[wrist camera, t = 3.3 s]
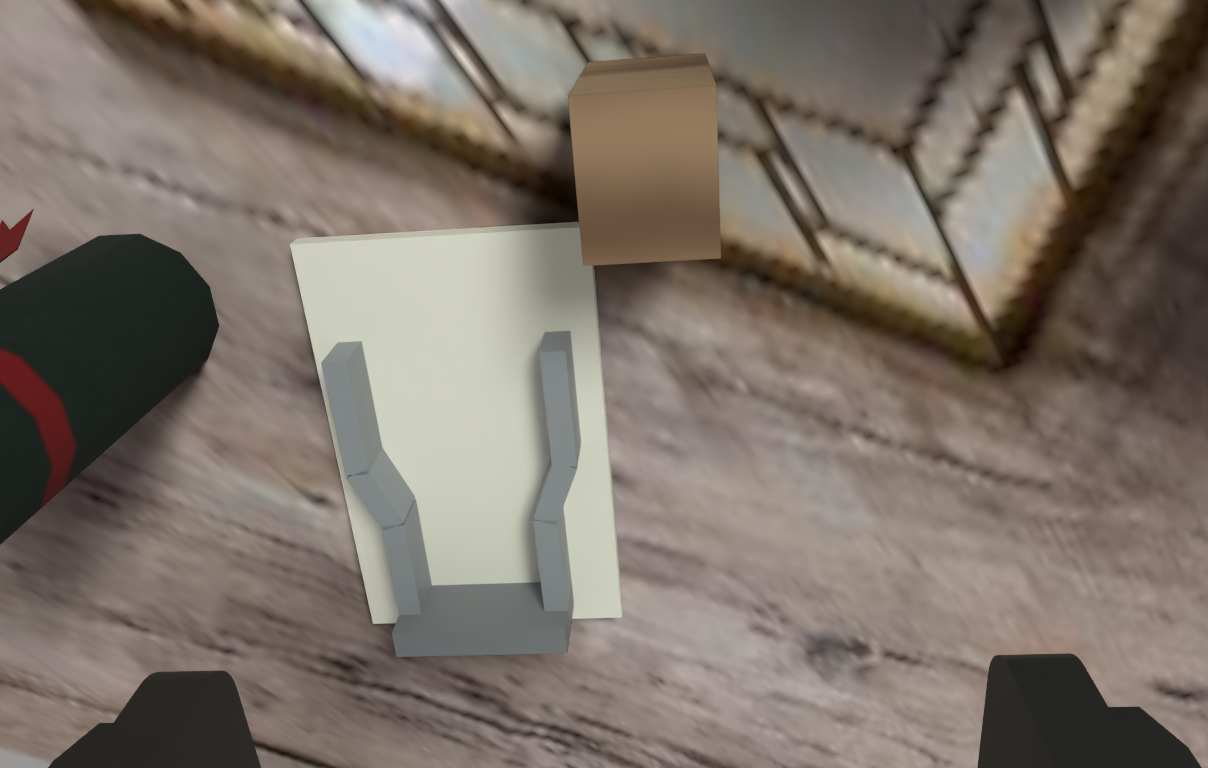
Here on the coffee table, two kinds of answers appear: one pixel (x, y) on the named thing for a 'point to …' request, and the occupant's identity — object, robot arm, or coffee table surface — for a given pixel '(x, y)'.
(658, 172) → the brown block
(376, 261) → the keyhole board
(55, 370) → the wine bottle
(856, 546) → the coffee table surface
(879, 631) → the coffee table surface
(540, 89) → the coffee table surface
